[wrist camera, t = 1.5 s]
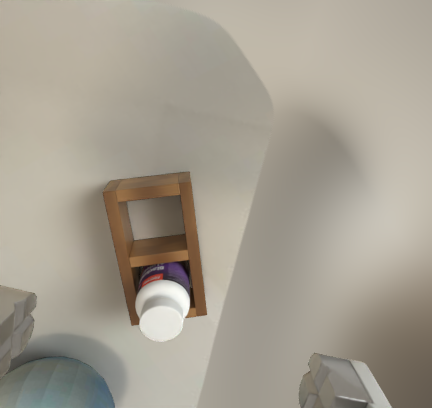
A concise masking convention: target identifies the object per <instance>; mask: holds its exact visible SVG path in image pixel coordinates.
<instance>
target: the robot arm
mask: <svg viewBox="0 0 432 408" xmlns="http://www.w3.org/2000/svg"><path fill="white" fill-rule="evenodd" d="M36 299H37V296H36V295H35V293H32V292H27V291H23V290H19V289H15V288H10V287H6V286H2V285H0V380H1V378H2V377H3V376H4V375H5V373H6V372H7V371H8V369H9V368H10V362H11V359H12V358H15V357H17V356H19V355H20V354H21V353H22V351H23V350H24V349H25V347H26V345H27V343H28V341H29V339H30V337H31V334H32V331H33V327H34V319H33V317H32V316H31V314H30V313H31V312H32V311H33V309H34V308H35V307H36ZM308 365H309V368H310V371H309V372H308V373H306V374H305V375H303V377H302V380H301V383H300V387H299V403H300V407H301V408H392V407H391V405H390V404H389V402H388V400H387V399H386V397H385V395H384V394H383V392H382V390H381V388H380V387H379V385H378V383H377V382H376V380H375V378H374V377H373V375H372V373H371V372H370V370H369V368H368V366H367V365H366V364H365V363H363V362H360V361H355V360H350V359H341V358H336V357H332V356H327V355H322V354H317V353H314V354H313V355H312V356H311V357H310V360H309V362H308Z"/></svg>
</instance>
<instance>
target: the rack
mask: <svg viewBox="0 0 432 408" xmlns="http://www.w3.org/2000/svg"><path fill="white" fill-rule="evenodd" d="M174 195H180V198H181V205H182V213H183V220H184V227H185V234H182V235H174V236H166V237H158V238H151V239H143V240H135V241H134V240H133V235H132V230H131V225H130V220H129V214H128V209H127V204H126V201H132V200H141V199H149V198H158V197H166V196H174ZM103 197H104V202H105V206H106V211H107V215H108V220H109V224H110V229H111V234H112V238H113V243H114V247H115V252H116V256H117V261H118V265H119V270H120V275H121V279H122V284H123V288H124V293H125V297H126V302H127V307H128V311H129V316H130V320H131V325H132V326H133V325H139V321H140V318H139V317H138V315H137V312H136V308H135V302H136V296H137V292H138V287H139V283H140V278H141V276H140V271H139V266H147V265H154V264H162V263H170V262H177V261H185V260H189V264H190V272H191V279H192V287H193V288H189V289H190V308H189V311H188V314H187V316H186V317H185V318H190V317H196V316H203V315H207V309H206V301H205V293H204V285H203V276H202V268H201V260H200V252H199V243H198V235H197V227H196V219H195V211H194V202H193V194H192V186H191V178H190V172H182V173H173V174H165V175H156V176H147V177H138V178H130V179H122V180H112V181H110V182H109V184H108V185H107V187H106V188H105V189H104V191H103Z"/></svg>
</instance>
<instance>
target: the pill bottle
mask: <svg viewBox="0 0 432 408" xmlns="http://www.w3.org/2000/svg"><path fill="white" fill-rule="evenodd" d="M135 308H136V312H137V315H138V317H139V318H140V321H139V327H140V330H141V332H142V333H143V335H144V336H146V337H147V338H148V339H150V340H153V341H158V342H163V341H168V340H171V339H173V338H175V337H176V336H177V335H178V334H179V333H180V332H181V330H182V327H183V320H184V318H185V317H186V316H187V314H188V311H189V308H190V289H189V269H188V264H187V262H186V260H185V261H177V262H170V263H162V264H154V265H147V266H143V268H142V273H141V278H140V283H139V287H138V292H137V296H136V302H135Z"/></svg>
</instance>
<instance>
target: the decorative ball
mask: <svg viewBox="0 0 432 408" xmlns="http://www.w3.org/2000/svg"><path fill="white" fill-rule="evenodd" d="M0 408H115V405H114V401H113V397H112V395H111V393H110V391H109V388H108V386H107V384H106V382H105V381H104V379H103V378H102V377H101V376H100V375H99V374H98V373H97V372H96V371H95V370H94V369H93V368H92V367H91V366H89V365H87V364H85V363H83V362H81V361H79V360H75V359H71V358H67V357H47V358H43V359H39V360H35V361H31V362H28V363H26V364H24V365H21V366H20V367H18V368H16V369H15V370H13V371H11V372H10V373H8V374H6V375H5V376H3V377H2V378H1V380H0Z"/></svg>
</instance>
